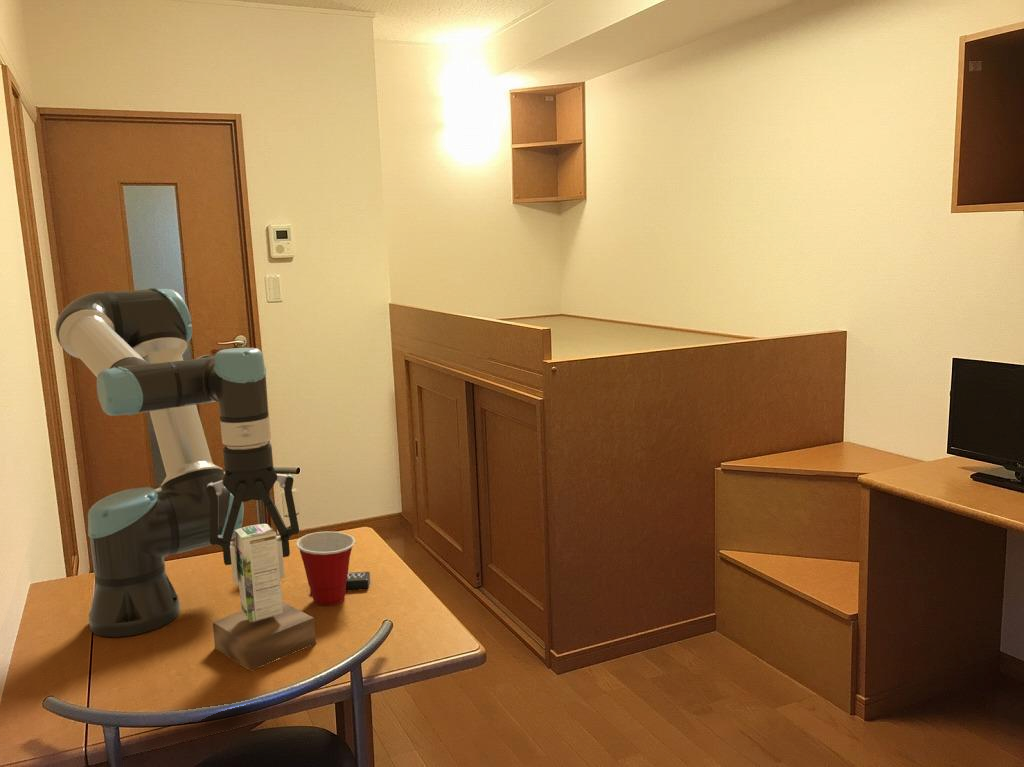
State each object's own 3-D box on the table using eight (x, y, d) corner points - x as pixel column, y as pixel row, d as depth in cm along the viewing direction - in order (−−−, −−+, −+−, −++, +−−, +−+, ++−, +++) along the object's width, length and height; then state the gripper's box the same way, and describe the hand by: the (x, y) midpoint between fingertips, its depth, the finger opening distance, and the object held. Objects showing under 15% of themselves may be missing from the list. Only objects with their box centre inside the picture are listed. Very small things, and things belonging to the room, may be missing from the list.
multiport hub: (368, 590, 161) (368, 579, 161) (311, 594, 160) (310, 583, 160) (370, 581, 165) (369, 571, 165) (315, 585, 164) (314, 574, 164)
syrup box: (240, 611, 139) (231, 529, 137) (275, 601, 142) (267, 521, 140) (249, 623, 134) (240, 538, 132) (285, 613, 137) (277, 530, 135)
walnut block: (215, 649, 139) (212, 621, 138) (278, 624, 148) (276, 598, 147) (251, 673, 131) (248, 643, 130) (316, 645, 139) (314, 617, 139)
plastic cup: (345, 613, 150) (341, 551, 148) (290, 610, 152) (285, 548, 151) (367, 589, 161) (363, 530, 159) (316, 586, 163) (311, 528, 161)
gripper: (180, 455, 127) (195, 596, 131) (310, 442, 133) (321, 578, 137) (184, 445, 134) (198, 579, 138) (307, 433, 140) (317, 562, 144)
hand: (259, 578), depth 137 cm, fingers closed on syrup box, 7 cm apart
